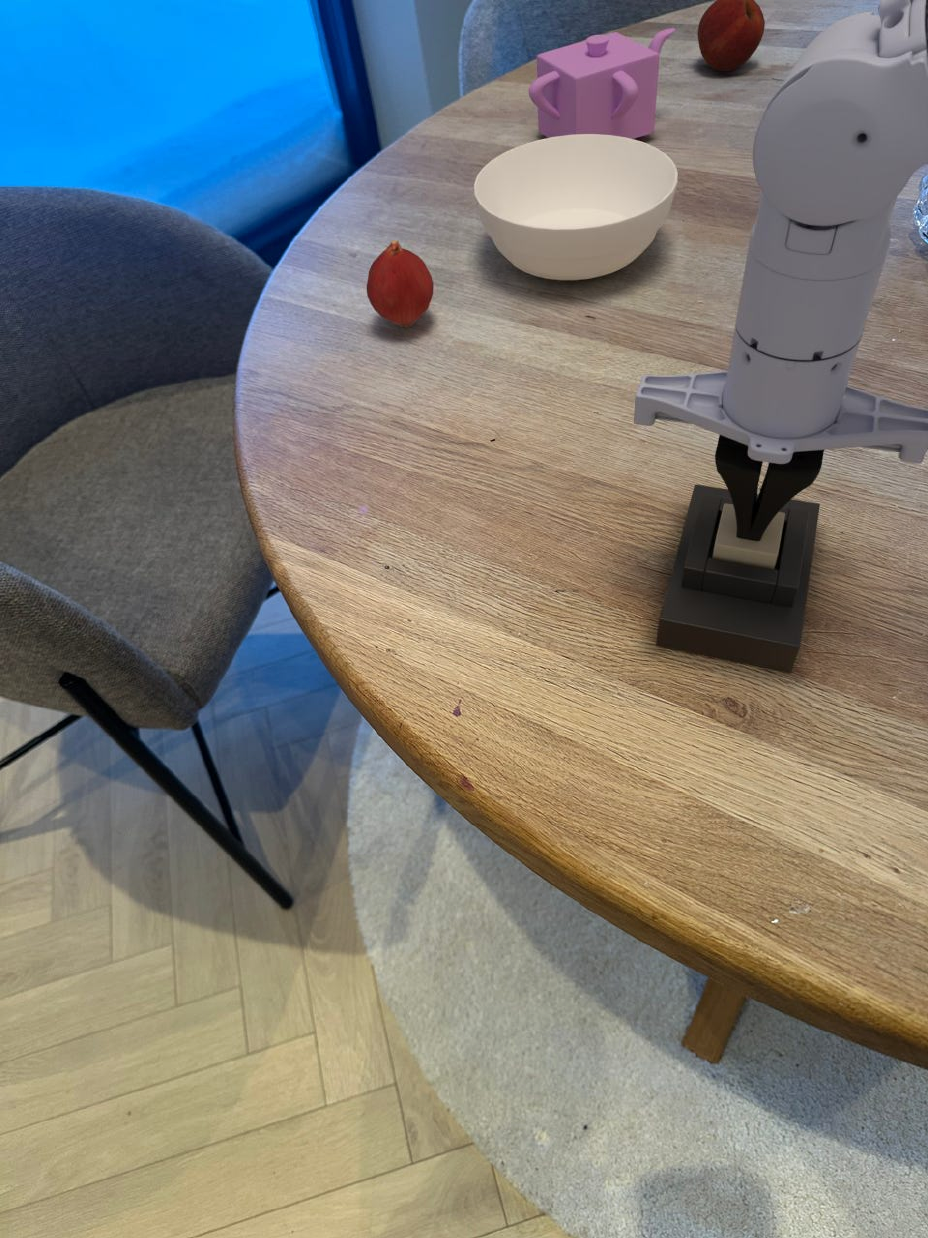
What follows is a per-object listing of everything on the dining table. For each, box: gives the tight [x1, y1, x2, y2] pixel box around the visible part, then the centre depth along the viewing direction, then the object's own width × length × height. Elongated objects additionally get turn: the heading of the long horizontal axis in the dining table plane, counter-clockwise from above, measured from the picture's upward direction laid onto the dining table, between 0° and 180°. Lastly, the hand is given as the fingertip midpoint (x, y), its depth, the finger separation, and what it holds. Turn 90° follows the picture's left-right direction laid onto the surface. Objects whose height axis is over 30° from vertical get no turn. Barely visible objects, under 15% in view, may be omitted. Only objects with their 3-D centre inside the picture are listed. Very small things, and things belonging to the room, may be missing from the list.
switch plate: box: [655, 484, 821, 674], centre depth 53 cm, size 12×8×4 cm, turn 161°
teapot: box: [527, 27, 676, 140], centre depth 93 cm, size 18×14×10 cm
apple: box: [696, 0, 766, 72], centre depth 103 cm, size 7×8×8 cm
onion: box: [366, 240, 435, 328], centre depth 74 cm, size 6×6×8 cm
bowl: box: [473, 134, 679, 281], centre depth 79 cm, size 18×18×7 cm
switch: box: [712, 503, 785, 569], centre depth 51 cm, size 4×4×2 cm
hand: (750, 528), depth 51 cm, fingers closed, pressing on switch
